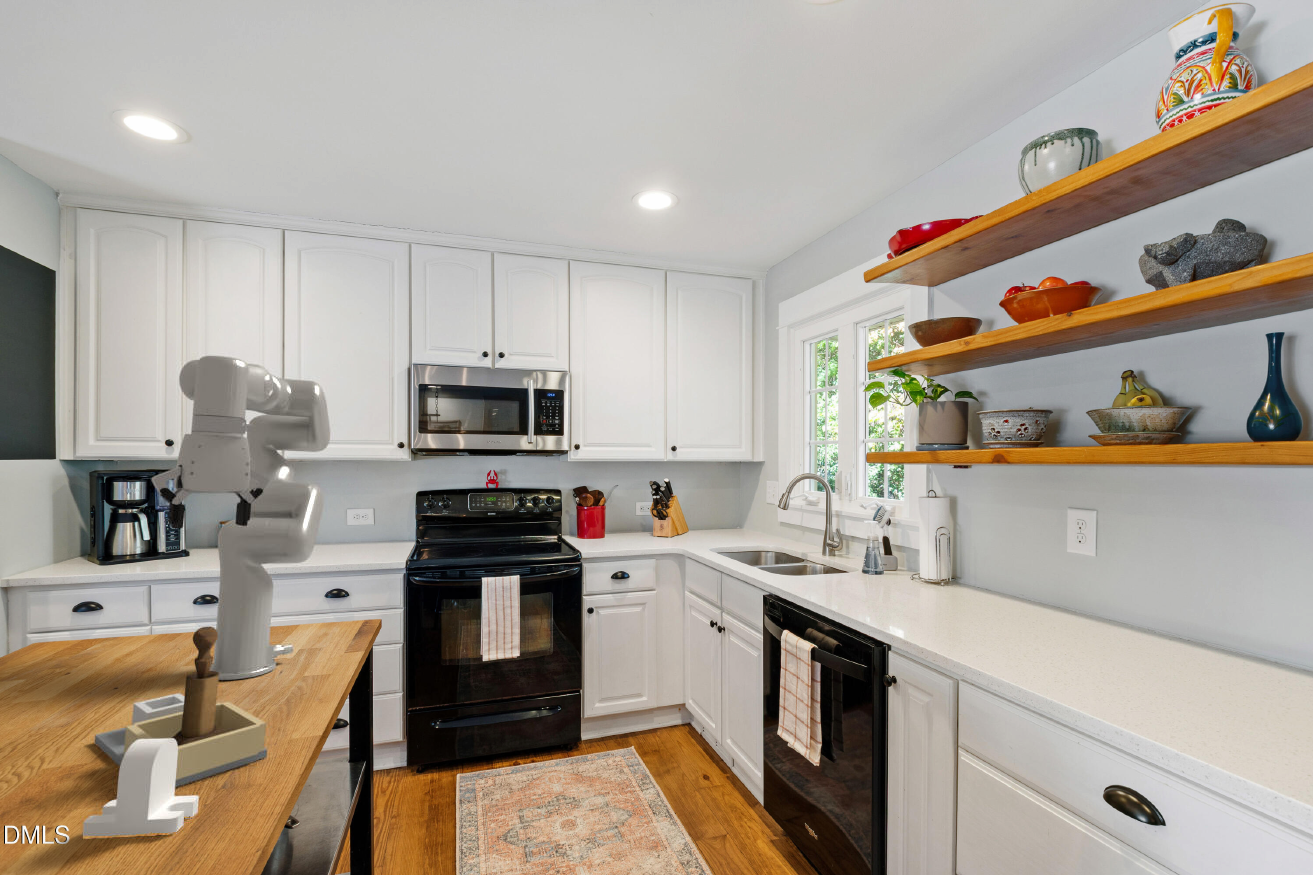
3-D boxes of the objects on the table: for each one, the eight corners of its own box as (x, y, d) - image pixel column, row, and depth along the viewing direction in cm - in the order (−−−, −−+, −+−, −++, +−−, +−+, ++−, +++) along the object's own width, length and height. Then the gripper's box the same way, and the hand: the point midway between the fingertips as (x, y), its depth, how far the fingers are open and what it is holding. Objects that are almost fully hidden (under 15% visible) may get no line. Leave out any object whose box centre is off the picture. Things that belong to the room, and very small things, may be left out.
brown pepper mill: (233, 747, 94) (243, 625, 94) (189, 765, 87) (199, 635, 88) (202, 738, 96) (211, 620, 97) (156, 756, 90) (167, 629, 91)
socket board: (201, 715, 107) (203, 684, 107) (268, 758, 93) (271, 722, 93) (94, 742, 95) (97, 708, 96) (152, 796, 82) (156, 755, 82)
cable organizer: (175, 835, 74) (182, 748, 74) (79, 840, 72) (87, 751, 72) (199, 811, 79) (206, 730, 79) (110, 814, 77) (118, 732, 78)
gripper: (262, 431, 118) (255, 522, 117) (149, 423, 104) (140, 527, 103) (281, 431, 114) (274, 526, 113) (166, 423, 100) (156, 531, 99)
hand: (210, 526), depth 108 cm, fingers open, 9 cm apart
